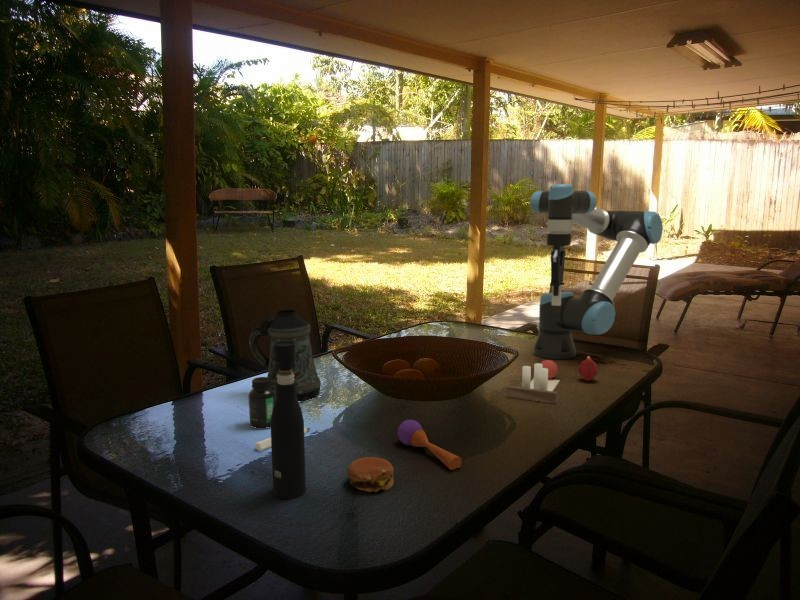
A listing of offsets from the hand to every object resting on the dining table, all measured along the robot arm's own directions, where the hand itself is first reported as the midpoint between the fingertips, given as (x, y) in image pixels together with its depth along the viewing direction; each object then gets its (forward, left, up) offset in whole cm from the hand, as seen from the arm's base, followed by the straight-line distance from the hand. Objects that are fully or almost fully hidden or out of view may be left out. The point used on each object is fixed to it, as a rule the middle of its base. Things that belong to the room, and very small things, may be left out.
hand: (556, 305), depth 199 cm
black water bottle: (+107, -31, -23) cm, 114 cm away
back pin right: (+29, -2, -22) cm, 37 cm away
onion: (+7, +12, -23) cm, 27 cm away
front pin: (+24, 0, -22) cm, 33 cm away
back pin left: (+29, +3, -22) cm, 37 cm away
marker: (+86, -47, -23) cm, 101 cm away
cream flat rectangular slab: (+17, 0, -22) cm, 28 cm away
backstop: (+32, 0, -22) cm, 39 cm away
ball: (+9, 0, -19) cm, 22 cm away
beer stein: (+58, -66, -23) cm, 91 cm away
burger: (+97, -18, -23) cm, 101 cm away
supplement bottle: (+80, -58, -23) cm, 101 cm away
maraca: (+79, -13, -23) cm, 83 cm away
